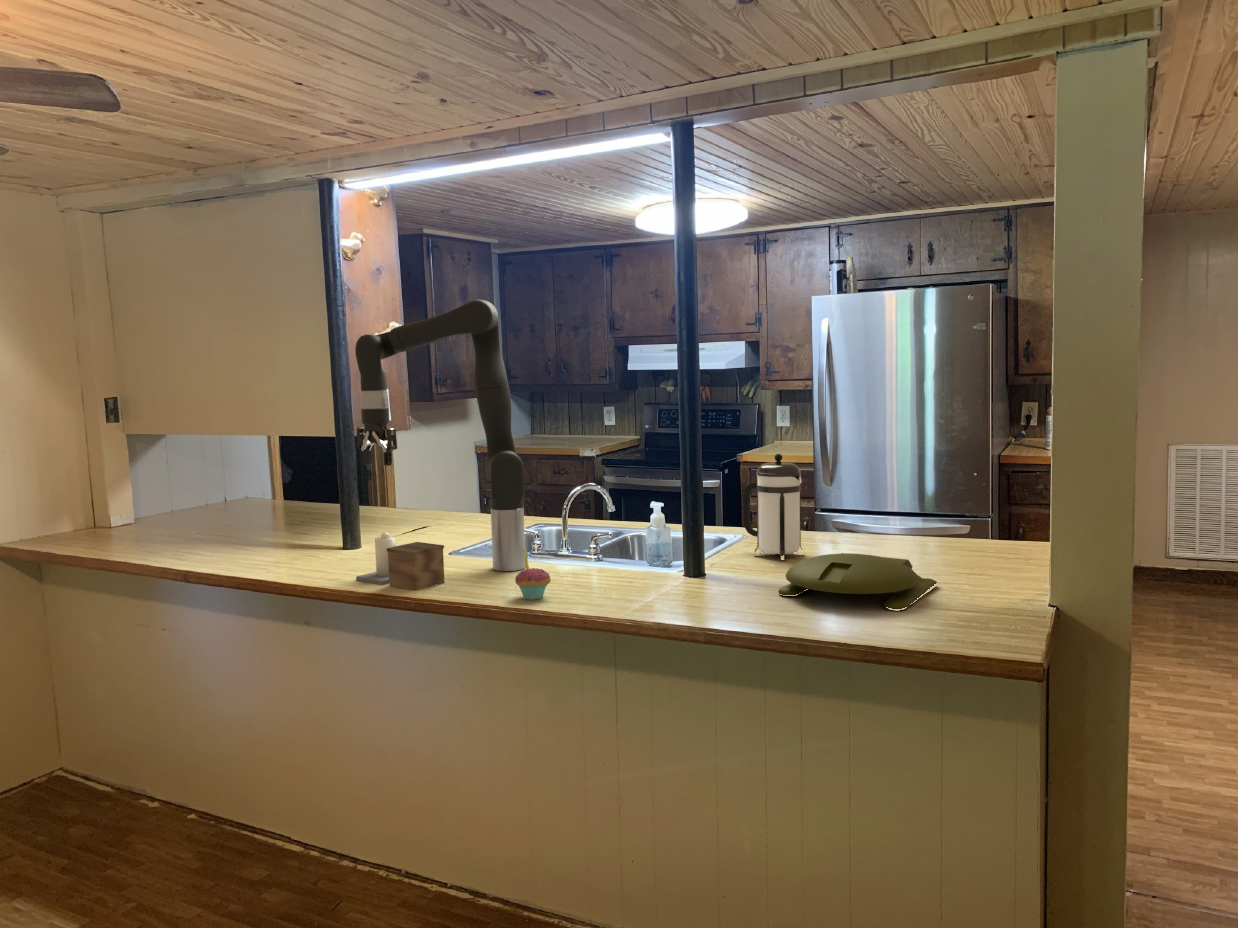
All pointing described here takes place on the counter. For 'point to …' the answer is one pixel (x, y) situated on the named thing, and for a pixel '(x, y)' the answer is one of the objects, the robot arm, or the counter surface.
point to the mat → (373, 578)
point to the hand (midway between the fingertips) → (377, 464)
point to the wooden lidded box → (416, 565)
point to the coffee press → (776, 507)
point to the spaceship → (858, 577)
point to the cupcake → (532, 581)
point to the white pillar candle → (383, 553)
